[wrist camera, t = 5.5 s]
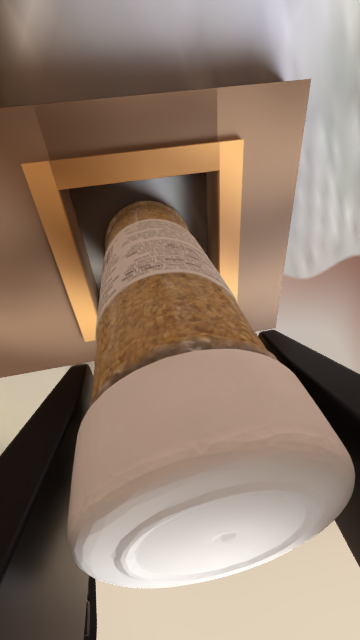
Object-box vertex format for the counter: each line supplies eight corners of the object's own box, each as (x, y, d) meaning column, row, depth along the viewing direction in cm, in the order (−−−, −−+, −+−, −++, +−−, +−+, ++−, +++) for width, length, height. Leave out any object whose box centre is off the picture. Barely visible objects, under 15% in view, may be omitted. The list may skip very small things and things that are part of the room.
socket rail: (262, 310, 20) (277, 330, 18) (-154, 383, 17) (-187, 415, 15) (285, 84, 13) (315, 78, 11) (-416, 150, 10) (-538, 157, 8)
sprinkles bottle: (167, 291, 17) (255, 589, 6) (91, 263, 15) (25, 612, 4) (204, 220, 15) (432, 473, 4) (122, 179, 13) (142, 429, 2)
